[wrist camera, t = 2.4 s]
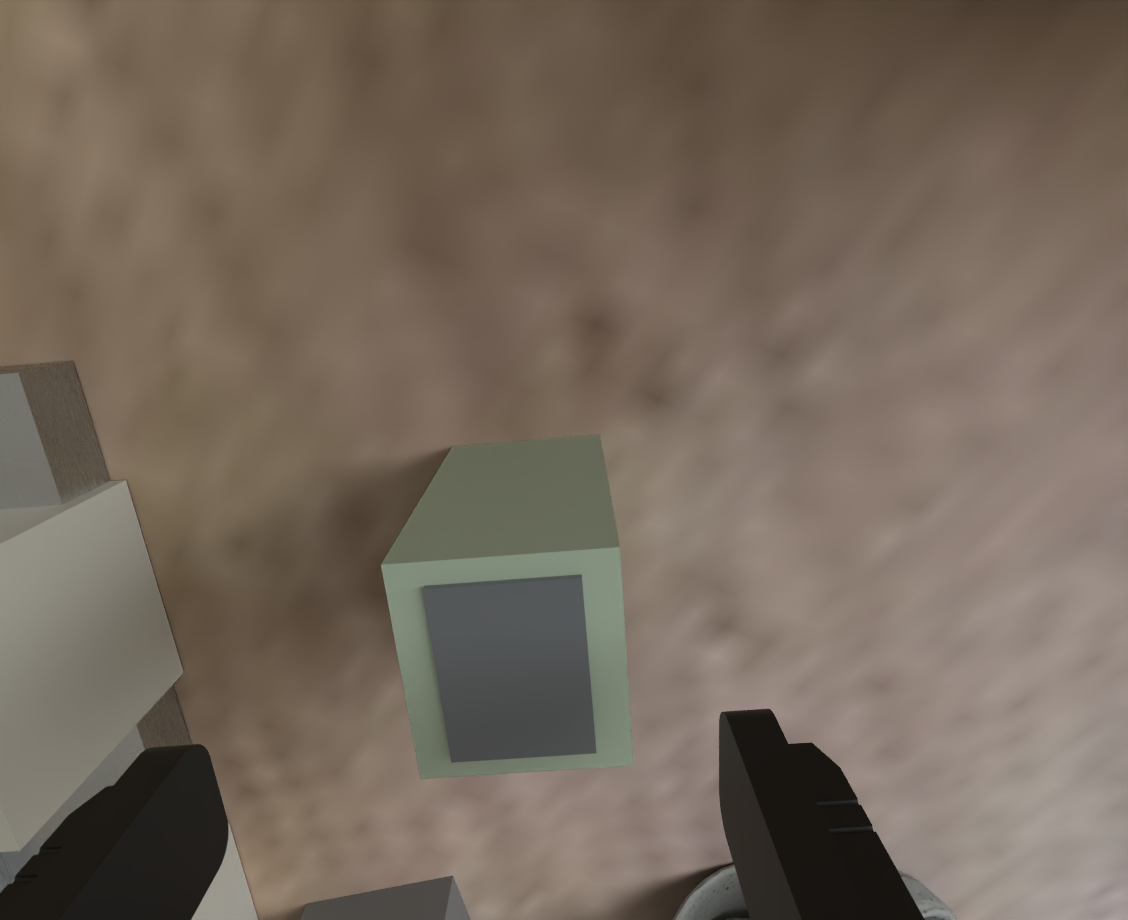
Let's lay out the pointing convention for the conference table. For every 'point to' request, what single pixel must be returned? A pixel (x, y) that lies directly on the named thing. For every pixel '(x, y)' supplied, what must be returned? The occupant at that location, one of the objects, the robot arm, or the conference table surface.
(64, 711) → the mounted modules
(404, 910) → the block
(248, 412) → the conference table surface
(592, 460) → the module
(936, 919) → the ceramic mug
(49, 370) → the rail
